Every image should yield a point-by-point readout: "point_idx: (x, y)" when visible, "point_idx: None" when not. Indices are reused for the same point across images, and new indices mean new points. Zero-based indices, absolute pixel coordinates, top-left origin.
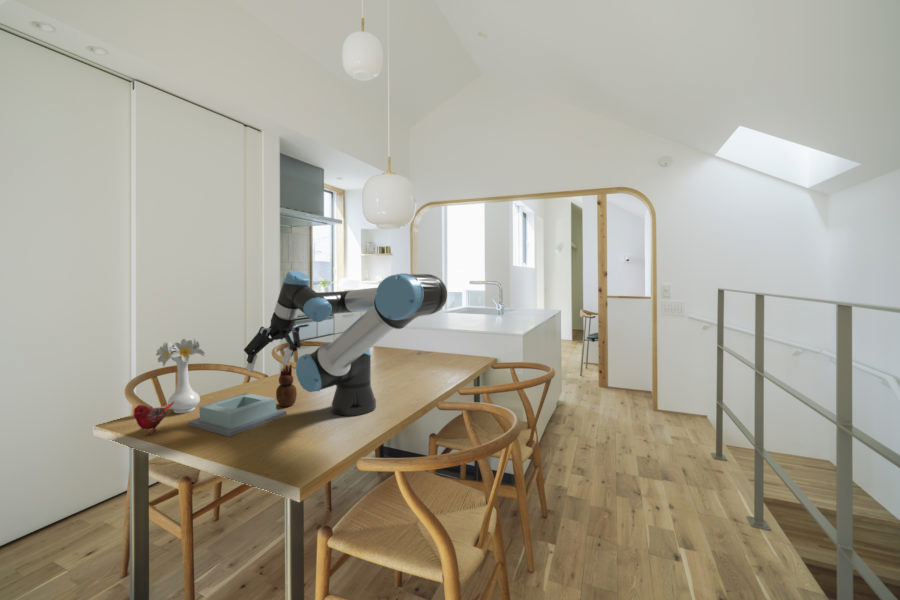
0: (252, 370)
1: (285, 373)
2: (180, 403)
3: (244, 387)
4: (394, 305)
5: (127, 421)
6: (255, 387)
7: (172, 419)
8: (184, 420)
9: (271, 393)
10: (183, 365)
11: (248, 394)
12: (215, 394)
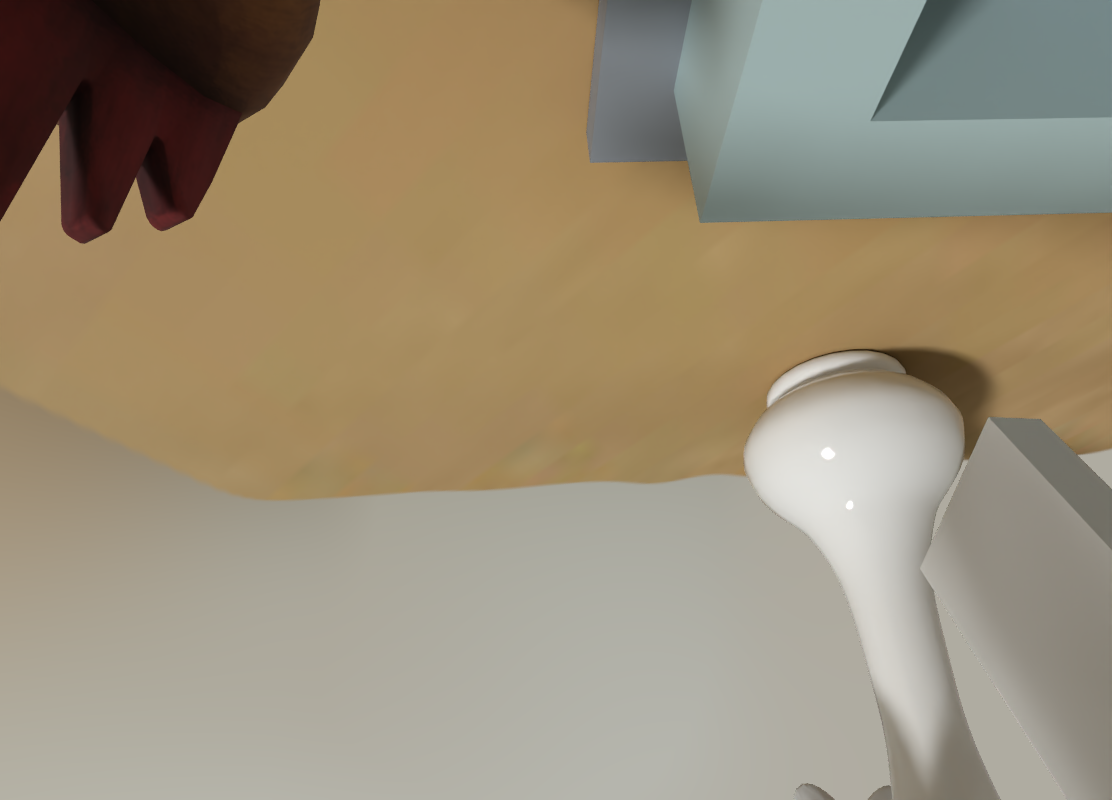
0: (1018, 445)
1: (89, 40)
2: (956, 421)
3: (253, 478)
4: None
5: (1056, 429)
6: (185, 443)
7: (1034, 311)
8: (1067, 241)
9: (141, 261)
10: (965, 753)
11: (761, 143)
12: (479, 478)
